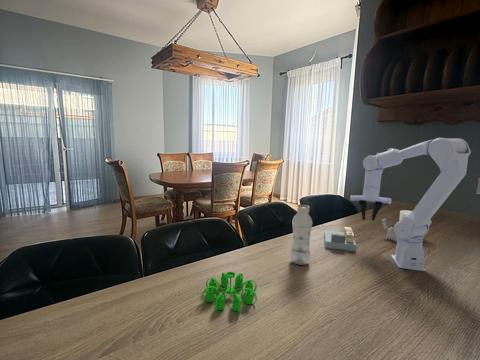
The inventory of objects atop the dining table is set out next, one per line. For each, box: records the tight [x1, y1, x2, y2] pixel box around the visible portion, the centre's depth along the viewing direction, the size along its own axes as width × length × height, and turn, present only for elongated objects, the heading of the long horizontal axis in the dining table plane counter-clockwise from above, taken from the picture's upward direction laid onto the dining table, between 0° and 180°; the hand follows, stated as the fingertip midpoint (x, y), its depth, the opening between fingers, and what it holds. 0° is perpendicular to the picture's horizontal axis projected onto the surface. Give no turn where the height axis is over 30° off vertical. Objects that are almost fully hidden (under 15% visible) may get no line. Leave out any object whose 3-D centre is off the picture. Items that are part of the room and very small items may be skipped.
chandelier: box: [201, 271, 258, 314], centre depth 69 cm, size 15×15×7 cm
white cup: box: [398, 209, 413, 221], centre depth 119 cm, size 8×8×10 cm
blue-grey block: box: [323, 229, 357, 252], centre depth 107 cm, size 13×11×6 cm
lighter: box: [381, 218, 398, 242], centre depth 113 cm, size 7×2×8 cm, turn 31°
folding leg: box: [343, 226, 355, 243], centre depth 105 cm, size 9×2×3 cm, turn 165°
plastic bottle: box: [289, 204, 313, 266], centre depth 88 cm, size 6×7×20 cm
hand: (368, 219), depth 105 cm, fingers open, 3 cm apart
